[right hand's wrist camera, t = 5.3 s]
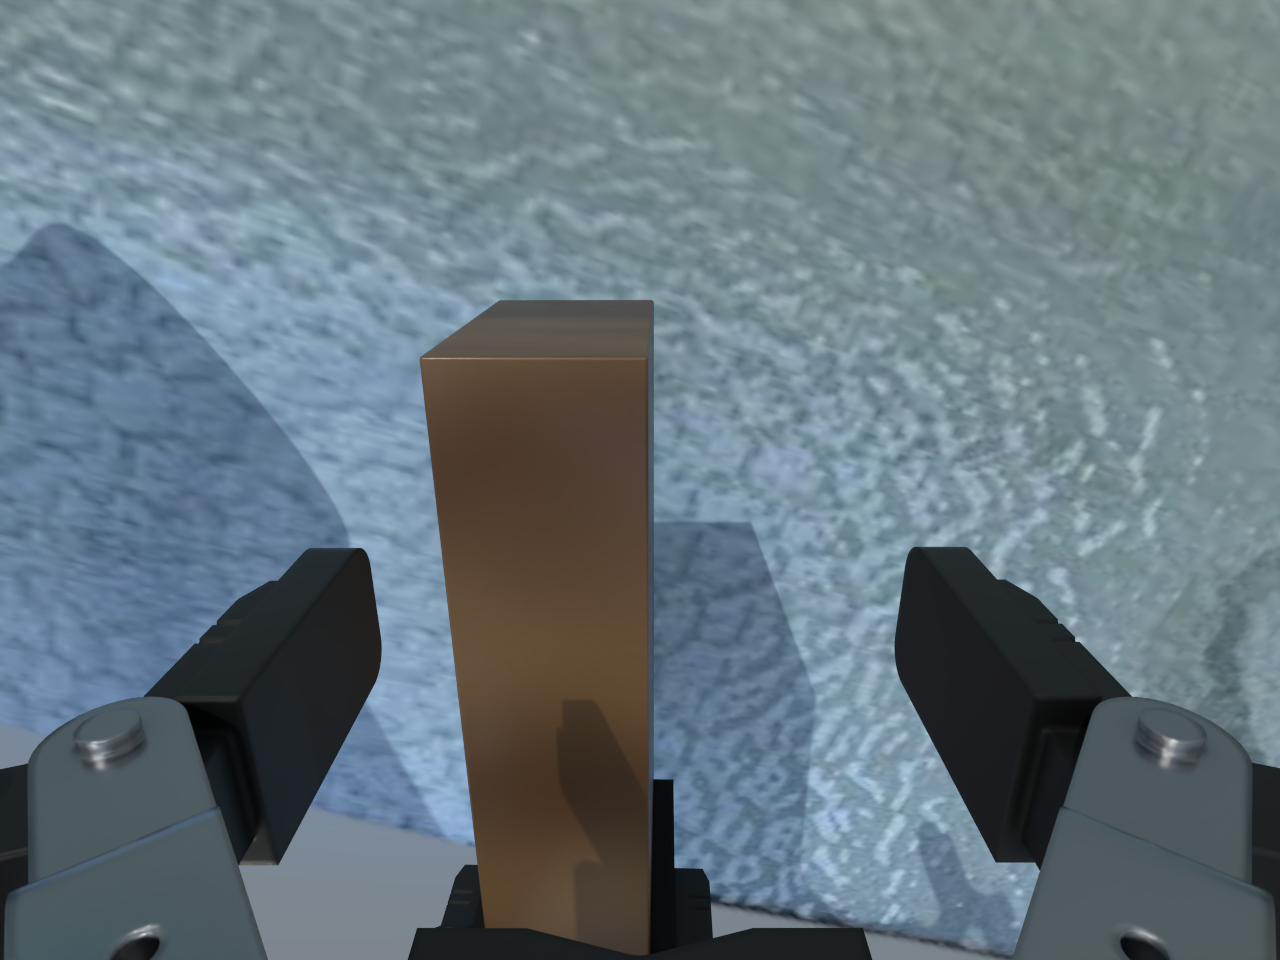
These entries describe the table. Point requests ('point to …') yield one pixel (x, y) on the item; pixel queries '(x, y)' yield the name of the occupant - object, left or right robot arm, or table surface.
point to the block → (553, 605)
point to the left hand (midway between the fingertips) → (592, 807)
